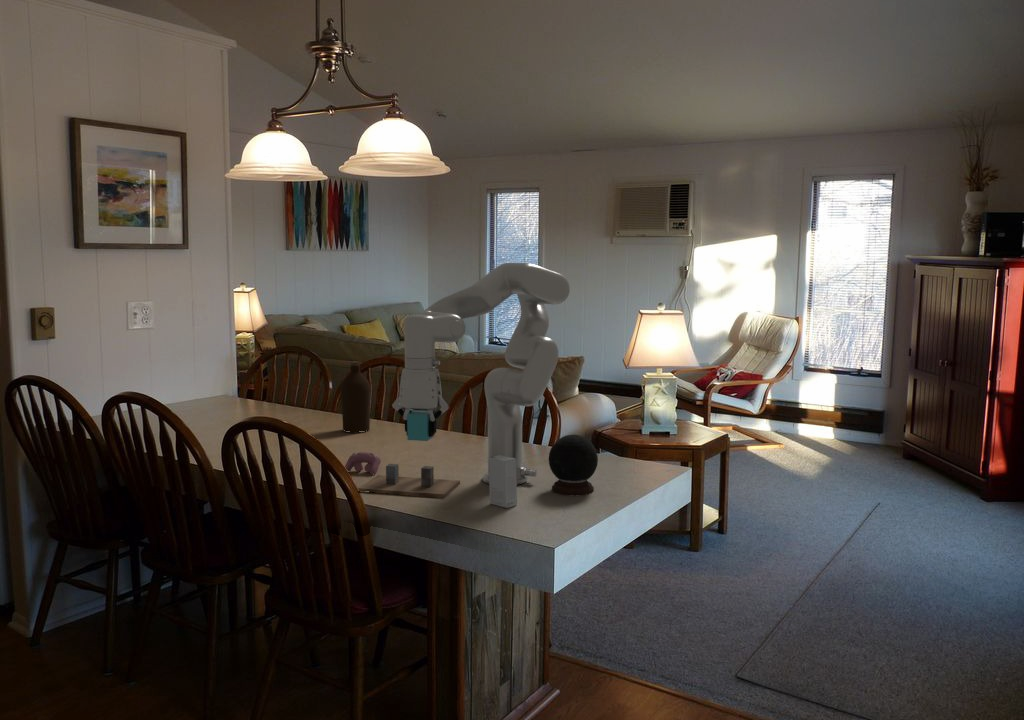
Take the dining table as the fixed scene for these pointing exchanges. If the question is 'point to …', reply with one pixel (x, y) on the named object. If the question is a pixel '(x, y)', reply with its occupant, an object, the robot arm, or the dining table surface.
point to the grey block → (392, 474)
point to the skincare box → (502, 481)
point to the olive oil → (355, 400)
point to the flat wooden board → (413, 485)
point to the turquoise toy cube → (418, 426)
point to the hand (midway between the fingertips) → (420, 434)
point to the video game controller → (363, 457)
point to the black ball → (573, 465)
